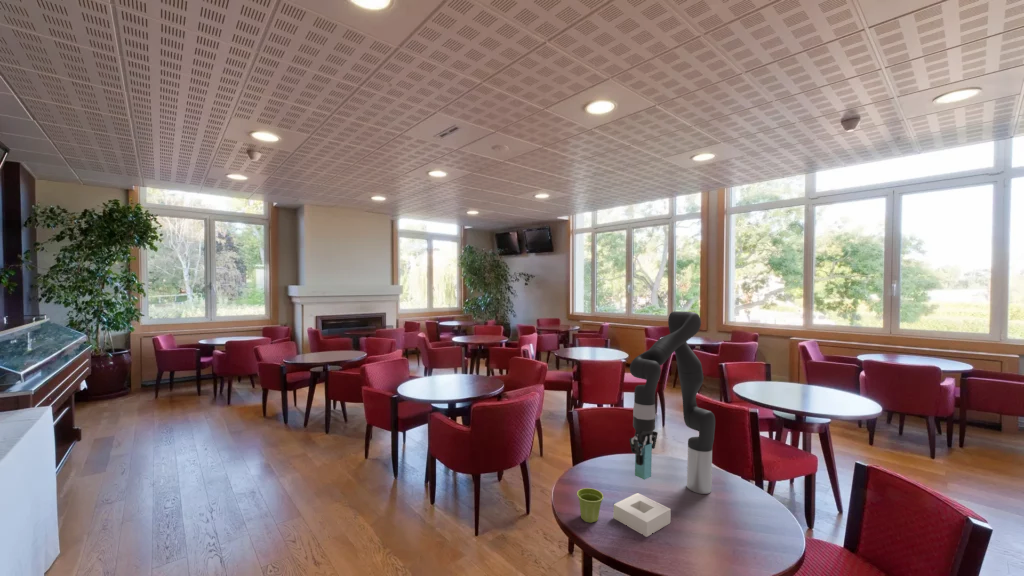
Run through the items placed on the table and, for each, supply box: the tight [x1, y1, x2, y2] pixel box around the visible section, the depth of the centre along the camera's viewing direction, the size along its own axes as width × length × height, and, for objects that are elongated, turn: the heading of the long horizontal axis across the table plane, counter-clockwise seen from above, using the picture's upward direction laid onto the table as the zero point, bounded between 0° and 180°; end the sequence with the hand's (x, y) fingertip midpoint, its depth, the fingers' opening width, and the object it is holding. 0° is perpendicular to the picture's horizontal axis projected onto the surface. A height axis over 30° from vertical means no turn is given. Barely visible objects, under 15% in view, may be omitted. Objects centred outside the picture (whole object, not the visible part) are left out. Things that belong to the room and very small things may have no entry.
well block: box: [612, 492, 672, 538], centre depth 152 cm, size 14×14×5 cm
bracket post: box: [634, 442, 653, 480], centre depth 152 cm, size 4×4×12 cm
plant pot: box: [576, 487, 604, 524], centre depth 153 cm, size 9×9×9 cm
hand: (643, 462), depth 152 cm, fingers closed on bracket post, 4 cm apart
